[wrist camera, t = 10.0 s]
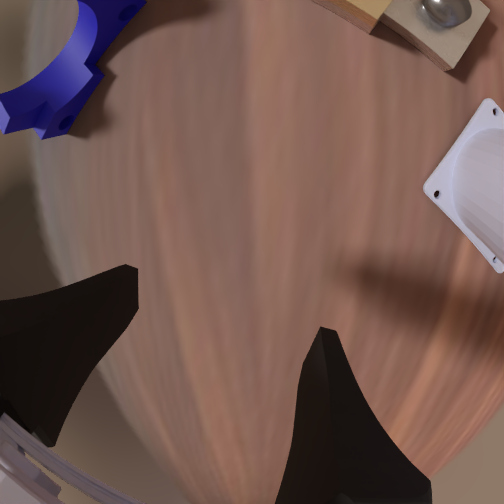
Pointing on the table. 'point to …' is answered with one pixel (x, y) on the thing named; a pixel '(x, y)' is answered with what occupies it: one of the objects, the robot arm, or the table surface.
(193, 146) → the table surface
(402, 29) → the square frame connector
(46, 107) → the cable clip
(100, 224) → the table surface
